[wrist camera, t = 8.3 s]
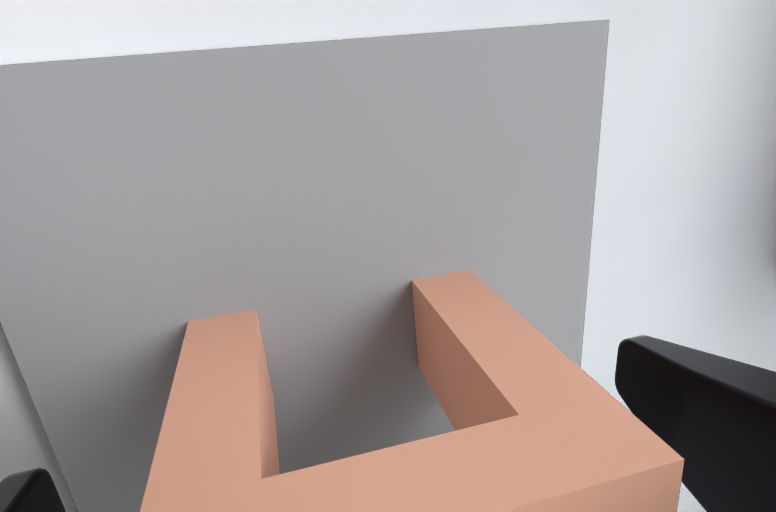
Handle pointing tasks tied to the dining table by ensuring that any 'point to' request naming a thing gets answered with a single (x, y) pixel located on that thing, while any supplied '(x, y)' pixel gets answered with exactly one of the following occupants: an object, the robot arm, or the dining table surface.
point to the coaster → (285, 225)
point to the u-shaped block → (425, 456)
